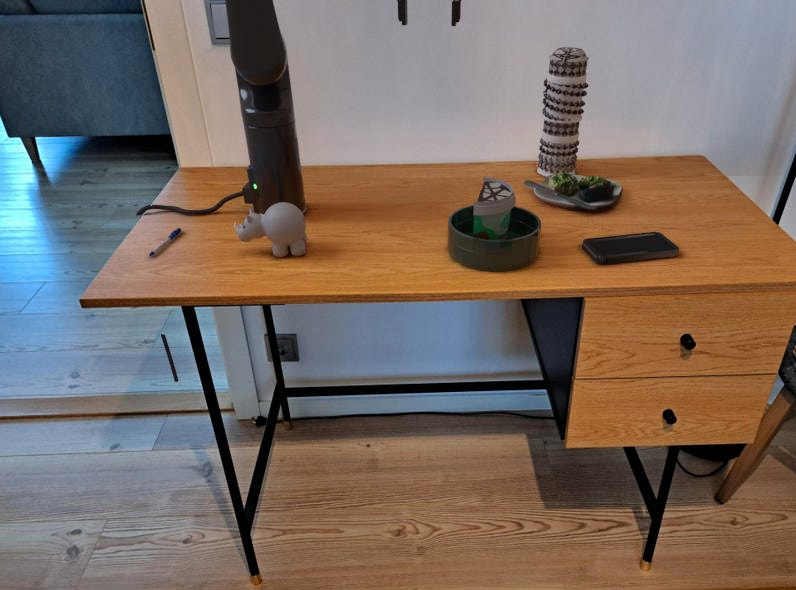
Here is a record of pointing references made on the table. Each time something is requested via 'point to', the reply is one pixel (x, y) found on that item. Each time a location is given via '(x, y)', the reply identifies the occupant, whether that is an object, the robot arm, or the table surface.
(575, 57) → the decorative candle
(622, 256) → the phone
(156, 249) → the ballpoint pen
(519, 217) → the bowl
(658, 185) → the table surface
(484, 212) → the food container
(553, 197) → the salad plate
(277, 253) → the round bodied animal figurine
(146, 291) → the table surface
